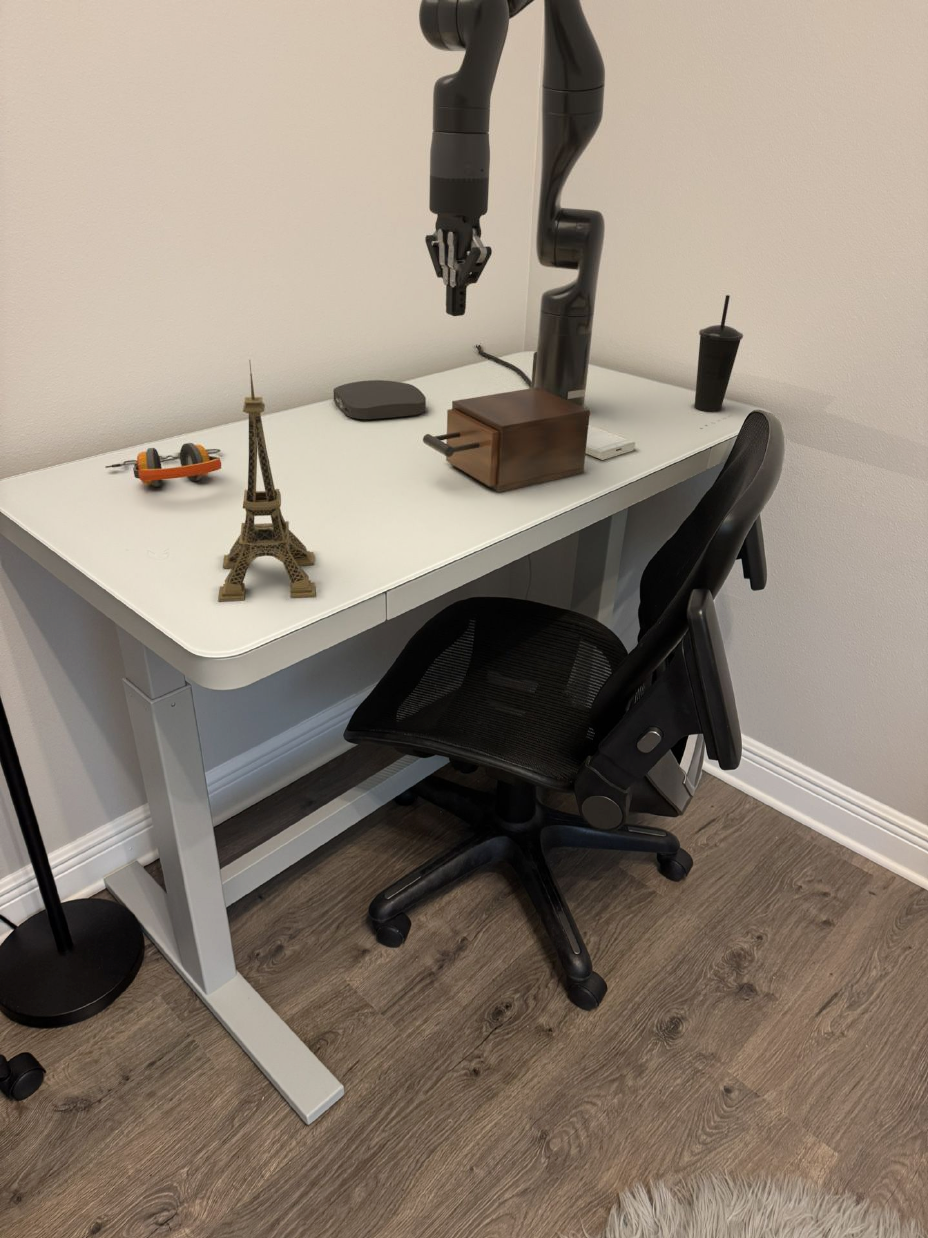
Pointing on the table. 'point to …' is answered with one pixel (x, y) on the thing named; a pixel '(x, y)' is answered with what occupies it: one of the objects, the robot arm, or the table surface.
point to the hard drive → (606, 444)
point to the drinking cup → (715, 363)
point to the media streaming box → (379, 399)
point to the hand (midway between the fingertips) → (455, 314)
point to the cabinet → (532, 435)
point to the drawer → (469, 446)
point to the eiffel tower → (268, 535)
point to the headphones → (192, 466)
